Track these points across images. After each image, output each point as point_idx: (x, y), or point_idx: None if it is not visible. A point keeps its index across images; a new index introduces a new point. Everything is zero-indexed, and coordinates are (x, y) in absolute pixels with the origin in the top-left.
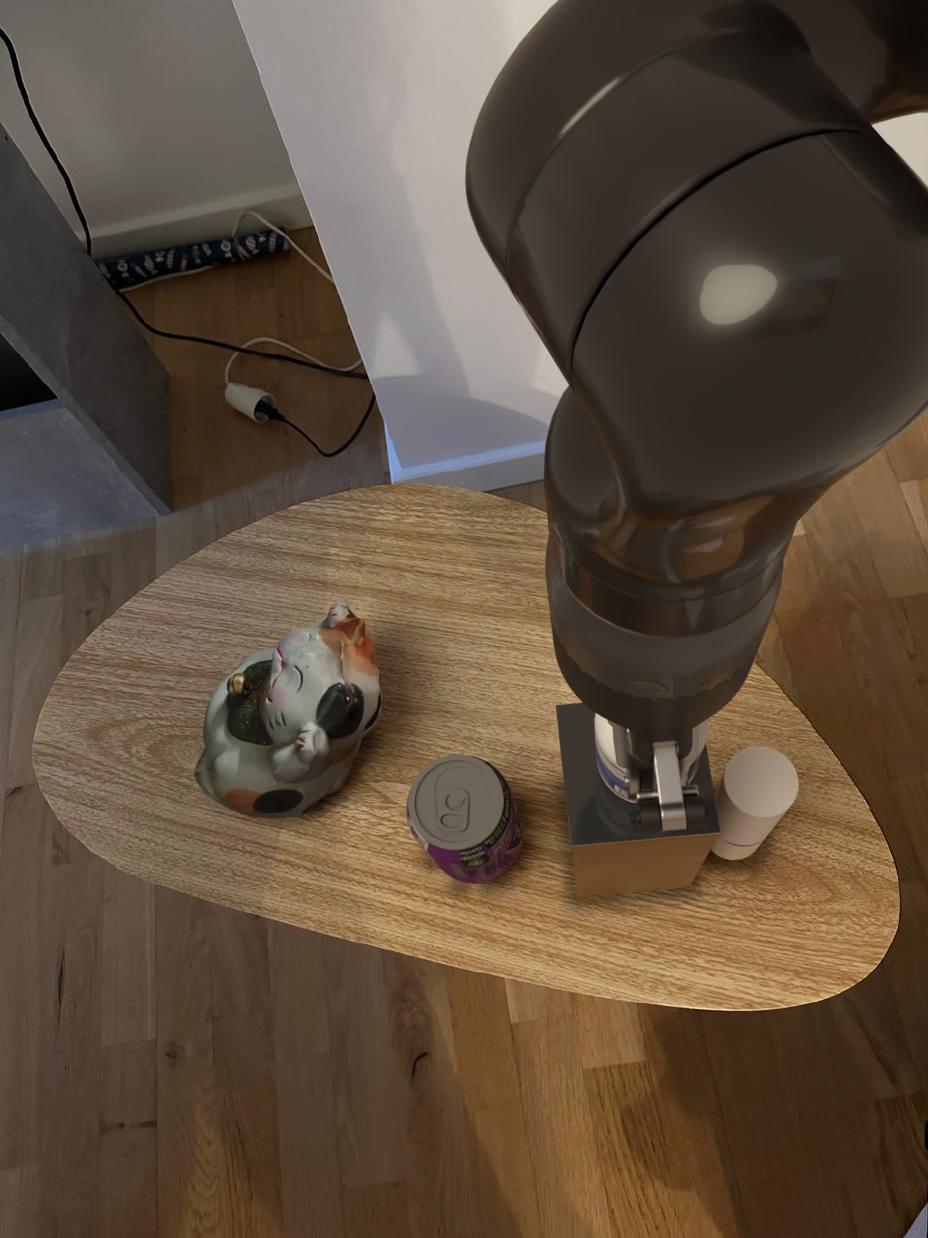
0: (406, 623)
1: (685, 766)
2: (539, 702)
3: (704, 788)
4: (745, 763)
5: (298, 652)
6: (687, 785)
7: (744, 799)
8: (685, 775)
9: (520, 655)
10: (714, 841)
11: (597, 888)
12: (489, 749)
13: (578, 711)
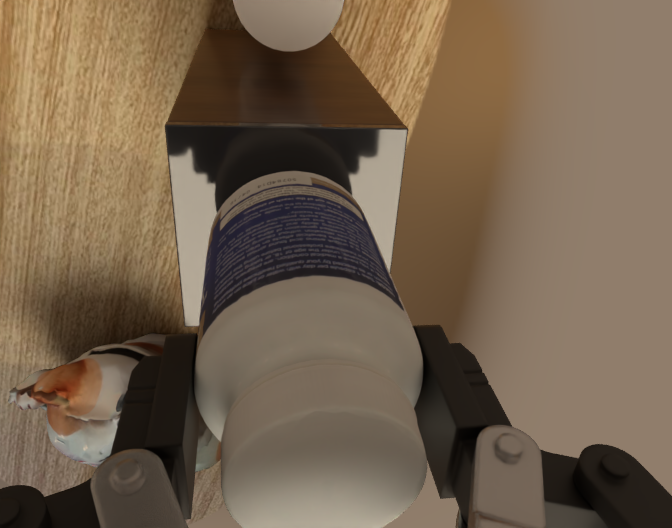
0: (22, 294)
1: (545, 524)
2: (111, 168)
3: (336, 141)
4: (258, 11)
5: (83, 458)
6: (354, 201)
7: (313, 25)
8: (541, 490)
9: (52, 184)
10: (390, 108)
11: None
12: (166, 222)
13: (195, 300)
